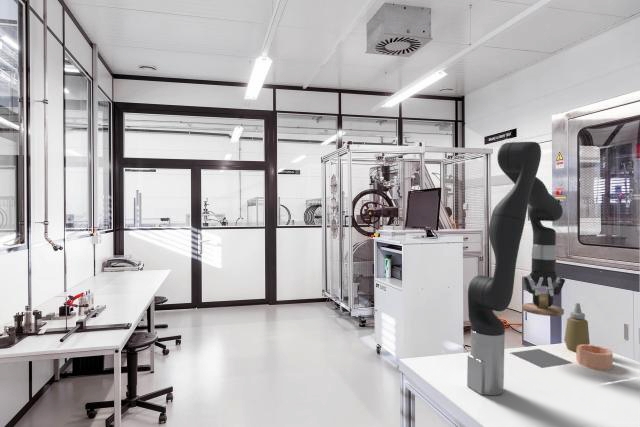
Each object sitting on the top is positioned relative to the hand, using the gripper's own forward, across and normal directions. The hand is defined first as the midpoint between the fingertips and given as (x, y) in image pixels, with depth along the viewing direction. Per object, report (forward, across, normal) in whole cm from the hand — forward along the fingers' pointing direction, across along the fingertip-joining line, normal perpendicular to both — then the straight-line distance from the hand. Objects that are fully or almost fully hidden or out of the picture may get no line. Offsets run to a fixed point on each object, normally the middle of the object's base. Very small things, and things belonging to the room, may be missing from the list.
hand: (542, 305), depth 142 cm
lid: (+2, 0, 0) cm, 2 cm away
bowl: (+19, +16, -2) cm, 25 cm away
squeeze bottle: (+19, +16, +12) cm, 28 cm away
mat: (+19, 0, 0) cm, 19 cm away
